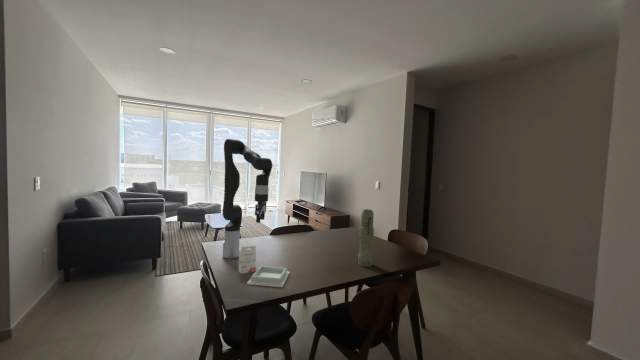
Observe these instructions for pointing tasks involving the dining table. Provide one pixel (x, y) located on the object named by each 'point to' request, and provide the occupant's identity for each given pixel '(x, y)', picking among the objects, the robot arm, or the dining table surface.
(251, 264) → the ink cartridge box
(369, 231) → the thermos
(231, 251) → the robot arm
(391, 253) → the dining table surface
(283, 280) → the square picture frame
